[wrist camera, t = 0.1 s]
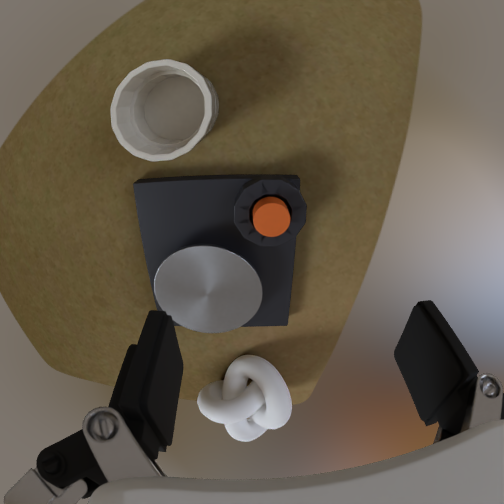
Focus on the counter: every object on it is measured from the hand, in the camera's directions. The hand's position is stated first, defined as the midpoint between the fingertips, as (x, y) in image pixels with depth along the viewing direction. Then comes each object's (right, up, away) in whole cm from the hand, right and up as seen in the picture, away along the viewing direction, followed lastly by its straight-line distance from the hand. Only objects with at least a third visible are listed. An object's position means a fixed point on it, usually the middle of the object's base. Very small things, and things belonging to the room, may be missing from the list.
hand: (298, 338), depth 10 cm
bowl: (-8, +15, +11) cm, 20 cm away
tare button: (0, +6, +13) cm, 14 cm away
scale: (-5, +3, +18) cm, 18 cm away
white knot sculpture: (-2, -13, +27) cm, 30 cm away
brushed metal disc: (-6, -1, +16) cm, 17 cm away
